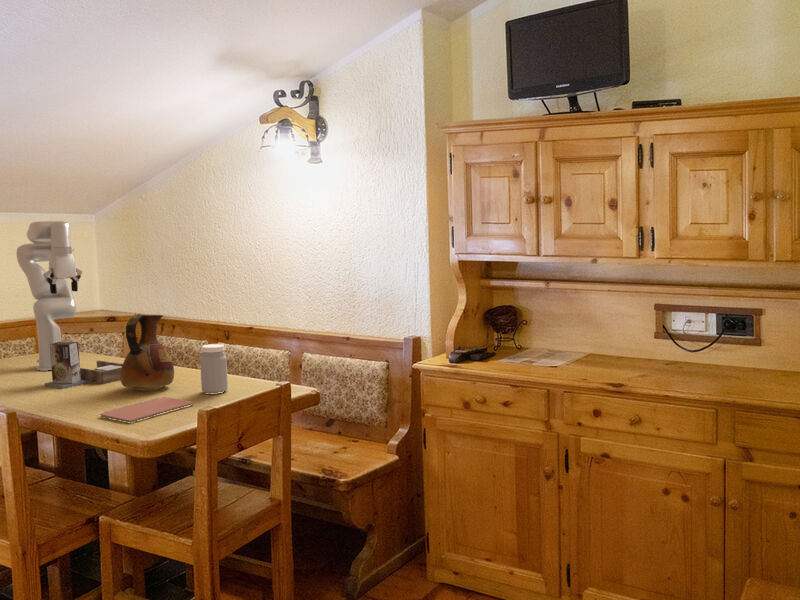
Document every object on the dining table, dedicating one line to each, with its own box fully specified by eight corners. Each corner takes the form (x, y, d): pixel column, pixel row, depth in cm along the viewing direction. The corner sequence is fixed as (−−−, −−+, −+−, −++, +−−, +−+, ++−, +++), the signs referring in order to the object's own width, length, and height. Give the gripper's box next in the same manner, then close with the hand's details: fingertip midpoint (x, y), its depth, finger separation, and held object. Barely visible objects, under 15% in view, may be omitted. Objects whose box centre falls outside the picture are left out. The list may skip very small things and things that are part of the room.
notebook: (162, 401, 277) (162, 395, 277) (194, 406, 268) (194, 401, 268) (97, 418, 254) (97, 412, 254) (130, 425, 245) (129, 419, 245)
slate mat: (44, 385, 304) (44, 383, 303) (71, 379, 314) (71, 377, 314) (62, 389, 297) (62, 386, 297) (89, 382, 307) (89, 380, 307)
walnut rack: (68, 378, 317) (67, 366, 316) (99, 371, 330) (98, 360, 329) (103, 384, 305) (102, 371, 304) (134, 376, 318) (133, 365, 317)
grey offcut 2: (102, 381, 311) (101, 369, 311) (119, 377, 318) (118, 366, 317) (107, 382, 309) (106, 370, 308) (124, 378, 315) (124, 367, 315)
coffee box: (81, 380, 308) (79, 341, 306) (72, 383, 302) (69, 344, 300) (61, 379, 310) (59, 341, 308) (51, 383, 303) (48, 343, 301)
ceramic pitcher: (185, 385, 301) (181, 310, 297) (152, 396, 282) (148, 317, 278) (144, 382, 307) (140, 309, 304) (110, 393, 288) (105, 316, 285)
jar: (211, 396, 281) (209, 348, 279) (196, 392, 287) (194, 346, 285) (233, 391, 288) (231, 345, 286) (217, 387, 295) (215, 342, 293)
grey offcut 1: (95, 380, 313) (94, 368, 313) (112, 376, 320) (111, 365, 319) (100, 381, 311) (100, 369, 311) (117, 377, 318) (117, 365, 317)
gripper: (74, 250, 322) (77, 290, 324) (36, 252, 307) (39, 294, 309) (85, 250, 318) (88, 290, 320) (47, 252, 303) (50, 294, 305)
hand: (64, 292), depth 315 cm, fingers open, 9 cm apart
